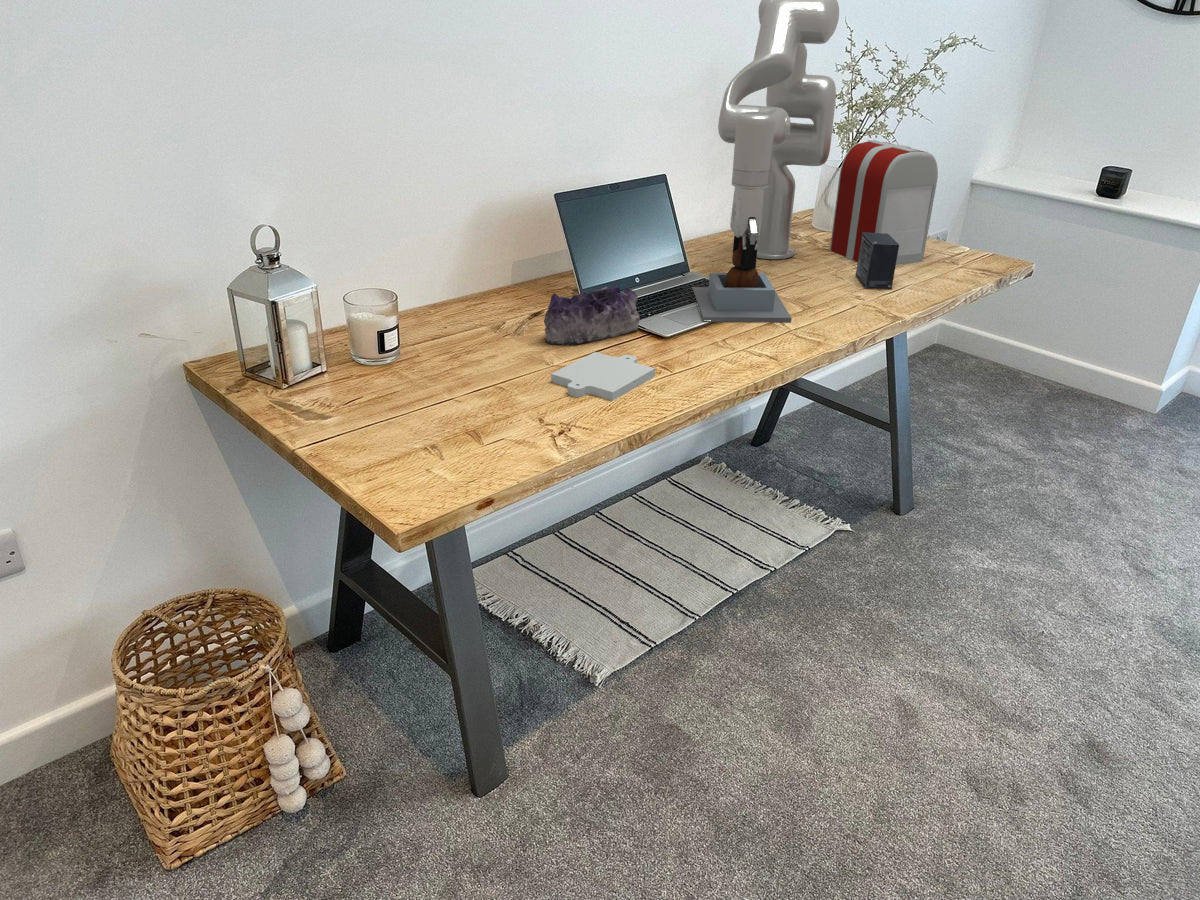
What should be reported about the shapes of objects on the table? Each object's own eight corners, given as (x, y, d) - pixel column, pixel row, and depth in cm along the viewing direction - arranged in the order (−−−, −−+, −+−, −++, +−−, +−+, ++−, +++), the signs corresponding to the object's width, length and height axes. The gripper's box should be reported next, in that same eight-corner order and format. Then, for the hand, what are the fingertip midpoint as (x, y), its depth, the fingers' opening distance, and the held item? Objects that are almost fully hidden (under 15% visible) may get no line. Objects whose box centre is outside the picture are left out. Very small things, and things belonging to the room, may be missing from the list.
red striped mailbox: (879, 244, 245) (895, 137, 233) (924, 261, 231) (945, 149, 218) (827, 249, 239) (841, 141, 227) (871, 268, 225) (889, 153, 212)
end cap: (692, 291, 206) (693, 267, 204) (772, 292, 207) (775, 268, 204) (703, 321, 188) (704, 295, 186) (791, 322, 189) (794, 296, 186)
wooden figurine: (734, 307, 194) (740, 236, 187) (719, 299, 198) (724, 229, 191) (761, 303, 196) (768, 233, 189) (745, 295, 201) (751, 226, 194)
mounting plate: (603, 407, 152) (604, 397, 151) (542, 388, 158) (541, 378, 157) (662, 374, 165) (662, 364, 164) (603, 357, 171) (603, 347, 170)
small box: (893, 289, 210) (901, 244, 205) (864, 289, 210) (871, 243, 205) (882, 276, 219) (889, 232, 214) (854, 275, 219) (860, 231, 214)
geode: (569, 356, 171) (562, 303, 168) (533, 345, 180) (527, 295, 176) (651, 329, 182) (647, 279, 179) (614, 321, 191) (609, 273, 187)
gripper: (726, 168, 193) (720, 249, 201) (738, 187, 178) (731, 273, 186) (762, 168, 193) (754, 249, 201) (777, 187, 178) (769, 274, 186)
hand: (743, 261), depth 193 cm, fingers open, 9 cm apart
